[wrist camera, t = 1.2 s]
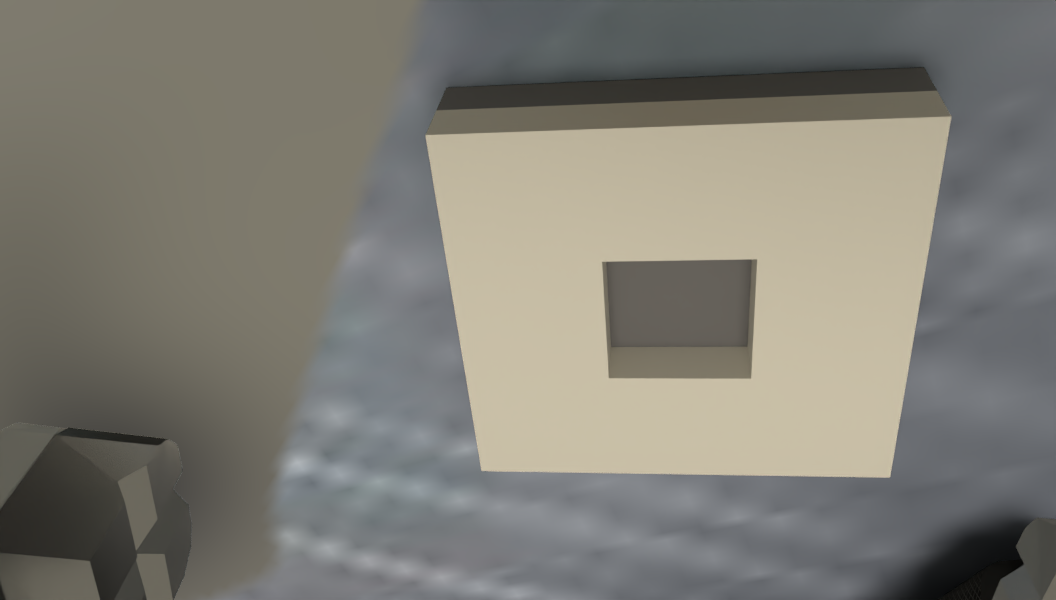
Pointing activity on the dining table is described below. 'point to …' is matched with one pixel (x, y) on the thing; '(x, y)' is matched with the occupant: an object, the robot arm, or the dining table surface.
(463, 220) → the socket block
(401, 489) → the dining table surface
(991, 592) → the muzzle brake
